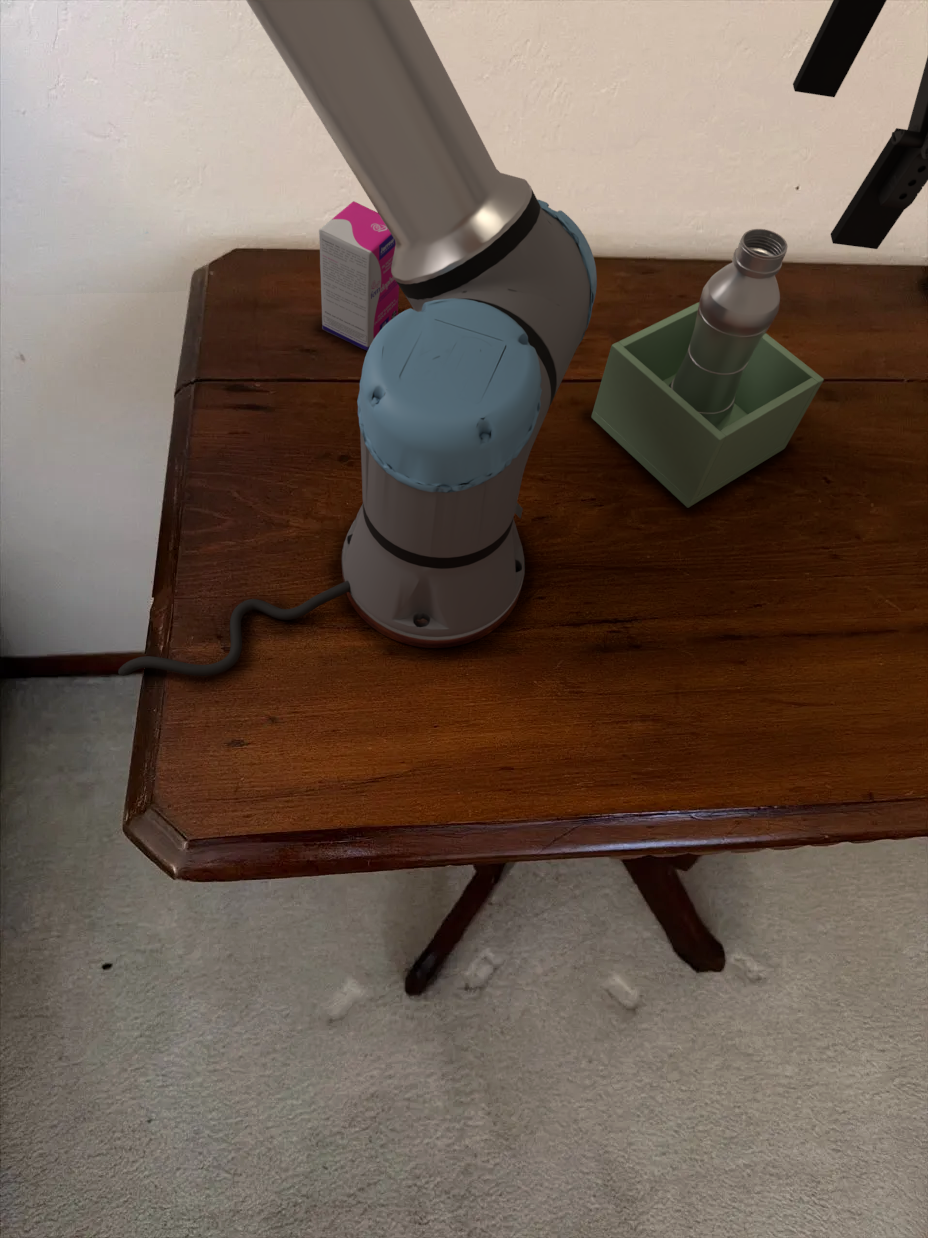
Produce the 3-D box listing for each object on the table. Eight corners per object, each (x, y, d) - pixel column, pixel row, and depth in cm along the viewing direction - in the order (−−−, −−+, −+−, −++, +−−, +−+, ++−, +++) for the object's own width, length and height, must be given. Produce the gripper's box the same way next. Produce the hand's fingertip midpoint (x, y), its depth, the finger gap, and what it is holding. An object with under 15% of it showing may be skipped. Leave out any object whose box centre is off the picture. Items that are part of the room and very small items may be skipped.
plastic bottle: (736, 435, 85) (824, 253, 68) (683, 461, 83) (762, 279, 66) (692, 393, 88) (767, 208, 71) (640, 417, 85) (705, 231, 68)
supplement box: (369, 353, 88) (369, 252, 79) (320, 329, 90) (314, 227, 80) (400, 321, 91) (403, 221, 81) (353, 299, 92) (350, 197, 83)
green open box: (687, 508, 81) (719, 439, 73) (590, 417, 86) (611, 344, 78) (784, 448, 86) (824, 378, 78) (687, 366, 91) (716, 293, 84)
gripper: (1332, -144, 29) (937, 323, 48) (1099, -426, 40) (851, 45, 59) (1130, -186, 28) (808, 307, 47) (948, -462, 39) (745, 28, 58)
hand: (832, 162), depth 53 cm, fingers open, 13 cm apart
